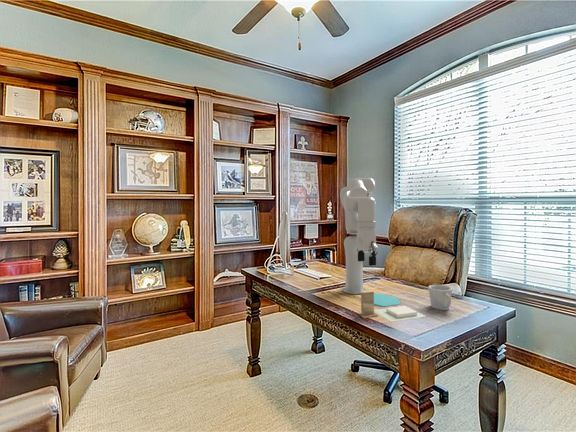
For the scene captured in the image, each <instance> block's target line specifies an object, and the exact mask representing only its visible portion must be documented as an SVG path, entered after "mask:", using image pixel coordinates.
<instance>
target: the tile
mask: <svg viewBox="0 0 576 432" xmlns="http://www.w3.org/2000/svg"><path fill="white" fill-rule="evenodd" d="M385 308H386V311H387V312H388V313H390V314H392V315H394V316H396V317H397V318H402V317H409V316H415V315H417V312H418V311H417V310H415V309H413V308H410V307H408V306H406V305H400V306H398V305H397V306H390V307H385ZM414 310H415V311H414ZM416 311H417V312H416Z"/></svg>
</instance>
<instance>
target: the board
mask: <svg viewBox="0 0 576 432" xmlns="http://www.w3.org/2000/svg"><path fill="white" fill-rule="evenodd" d="M386 308H387V307H383V308H377V309H374V313H376V314H377V315H378V316H380V317H383V318H384V319H386V320H388V321H389V322H398V321H399V322H400V321H404V320H411V319H417V318H418V319H419V318H425V317H427V316H426V315H424V314H422V313H420V312H419V311H417V310H415V309H413V310H414V311H416V312H417V315H415V316H409V317H402V318H397V317H396V316H394V315H392V314H390V313H388V312H387V311H386Z"/></svg>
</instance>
